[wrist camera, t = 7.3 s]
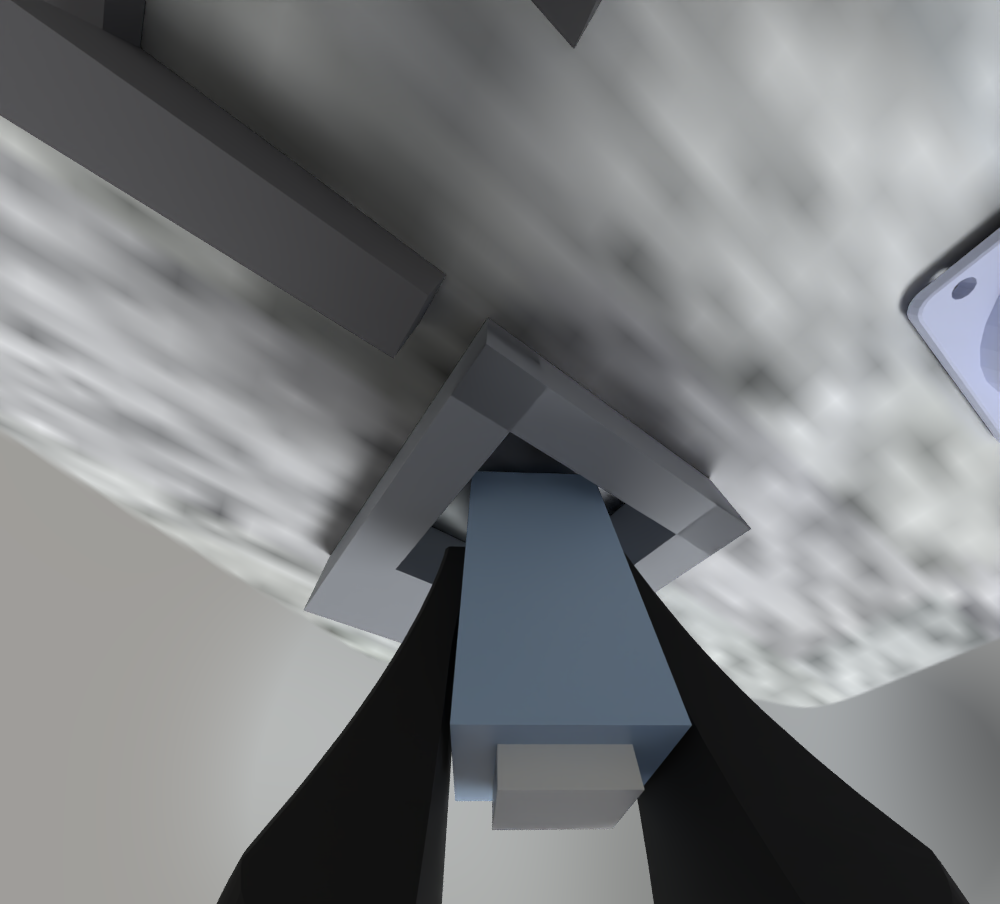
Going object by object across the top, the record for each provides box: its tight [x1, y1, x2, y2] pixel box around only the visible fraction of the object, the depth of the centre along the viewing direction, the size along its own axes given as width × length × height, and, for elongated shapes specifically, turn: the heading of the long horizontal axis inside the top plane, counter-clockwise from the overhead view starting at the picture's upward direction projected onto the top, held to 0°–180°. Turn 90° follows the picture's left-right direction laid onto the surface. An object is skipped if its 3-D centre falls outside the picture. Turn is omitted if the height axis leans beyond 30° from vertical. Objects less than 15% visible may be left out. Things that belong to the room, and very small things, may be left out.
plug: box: [450, 471, 692, 830], centre depth 10 cm, size 4×4×8 cm
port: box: [304, 318, 751, 643], centre depth 13 cm, size 12×10×3 cm
